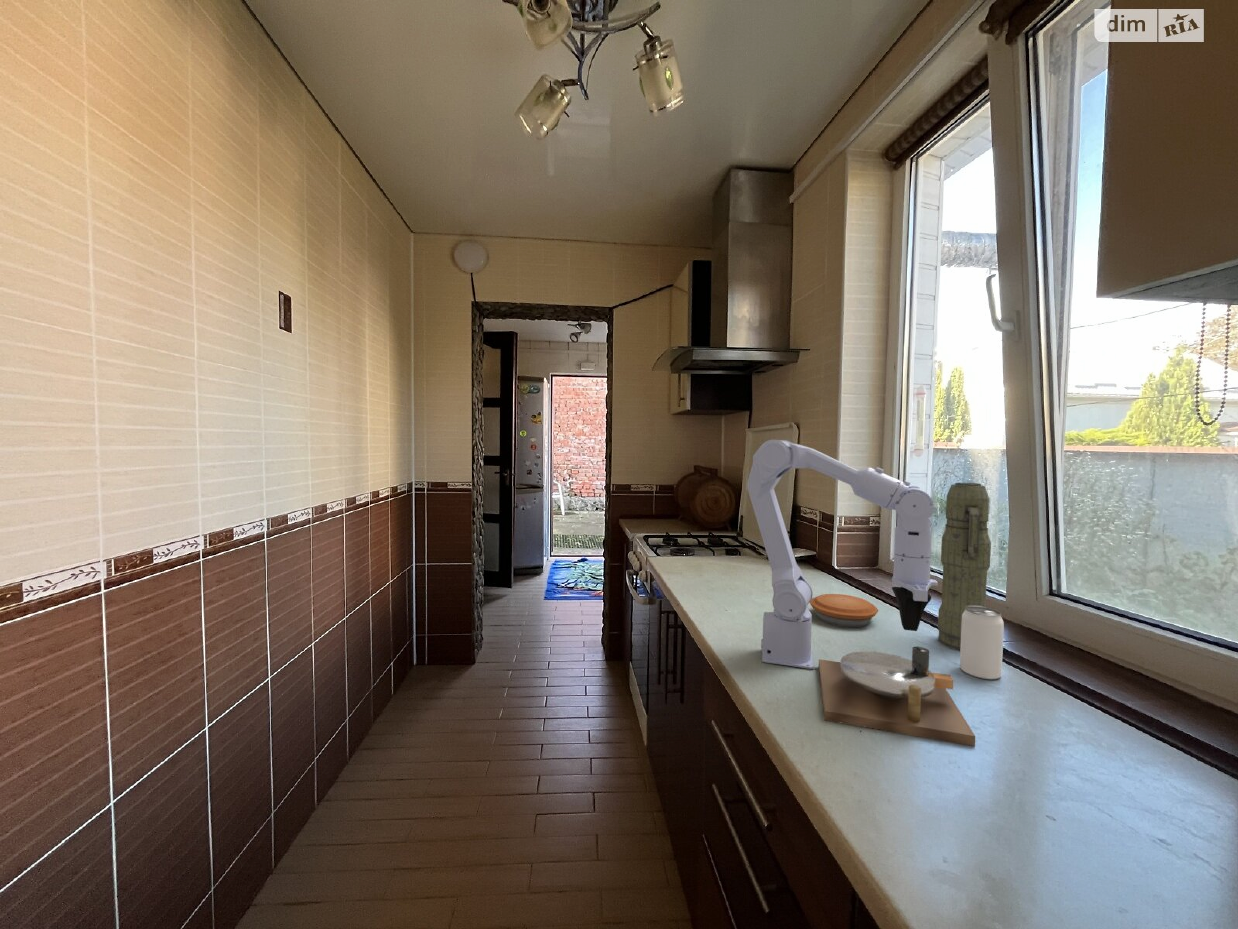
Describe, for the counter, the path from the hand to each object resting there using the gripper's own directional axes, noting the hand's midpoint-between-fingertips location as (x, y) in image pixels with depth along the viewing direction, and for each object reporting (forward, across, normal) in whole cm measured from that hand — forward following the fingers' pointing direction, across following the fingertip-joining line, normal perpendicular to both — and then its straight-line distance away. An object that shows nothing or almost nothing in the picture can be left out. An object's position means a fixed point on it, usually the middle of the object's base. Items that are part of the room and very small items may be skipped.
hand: (909, 629), depth 91 cm
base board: (+10, -9, +5) cm, 14 cm away
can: (+10, +9, -14) cm, 20 cm away
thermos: (+10, +24, -15) cm, 30 cm away
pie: (+10, +32, +8) cm, 35 cm away
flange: (+6, -9, +4) cm, 11 cm away
